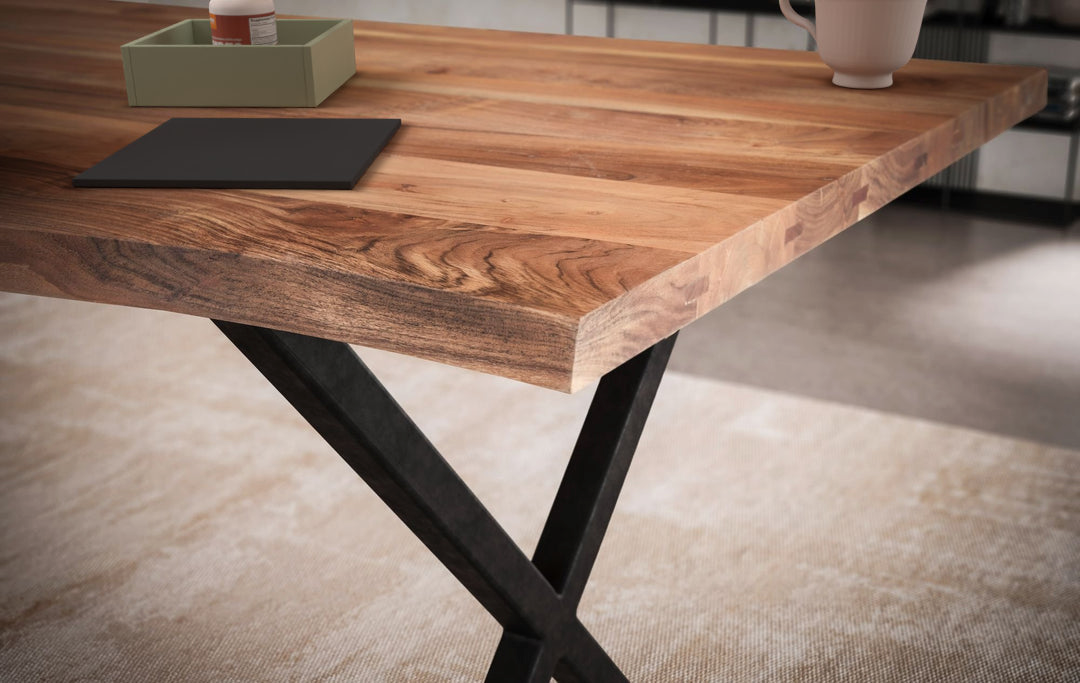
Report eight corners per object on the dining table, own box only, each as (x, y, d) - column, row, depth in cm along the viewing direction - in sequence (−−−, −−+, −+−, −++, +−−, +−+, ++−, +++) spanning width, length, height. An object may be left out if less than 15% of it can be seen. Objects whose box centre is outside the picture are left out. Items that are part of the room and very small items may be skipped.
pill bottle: (204, 89, 115) (190, -28, 111) (255, 80, 119) (243, -33, 115) (243, 97, 111) (230, -24, 107) (294, 87, 116) (284, -30, 111)
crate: (128, 106, 108) (119, 46, 106) (193, 72, 124) (186, 19, 122) (316, 107, 107) (310, 46, 105) (356, 72, 123) (352, 18, 121)
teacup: (792, 66, 123) (799, -32, 119) (937, 77, 117) (950, -27, 113) (755, 86, 114) (761, -21, 110) (910, 100, 107) (923, -14, 103)
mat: (72, 186, 82) (71, 178, 82) (173, 124, 101) (172, 117, 101) (351, 189, 81) (350, 181, 81) (401, 125, 100) (401, 118, 99)
